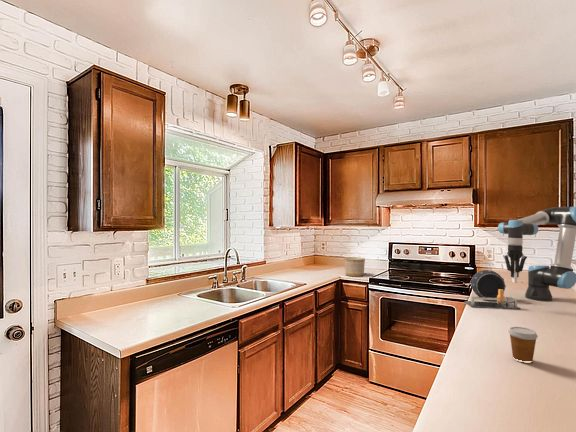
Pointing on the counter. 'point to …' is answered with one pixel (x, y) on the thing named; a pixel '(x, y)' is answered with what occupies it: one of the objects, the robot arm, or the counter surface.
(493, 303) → the bolt plate
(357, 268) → the planter
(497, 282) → the studded round pot
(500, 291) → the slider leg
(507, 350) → the counter surface
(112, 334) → the counter surface
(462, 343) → the counter surface
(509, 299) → the grey slide rail
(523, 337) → the disposable coffee cup
